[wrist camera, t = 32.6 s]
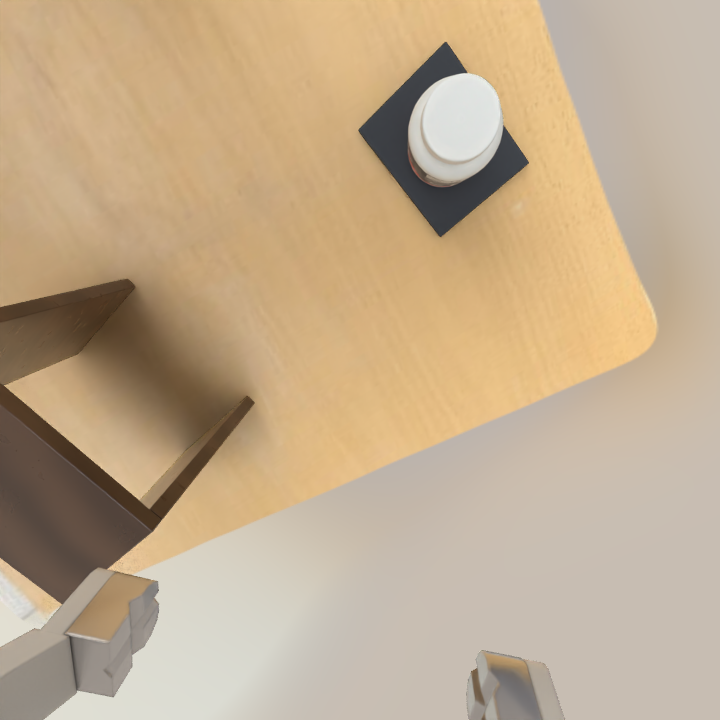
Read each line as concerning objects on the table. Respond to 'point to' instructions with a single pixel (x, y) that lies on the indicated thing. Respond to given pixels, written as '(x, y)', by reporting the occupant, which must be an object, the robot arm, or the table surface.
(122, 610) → the robot arm
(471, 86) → the pill bottle
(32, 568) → the arch
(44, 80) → the table surface
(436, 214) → the pad
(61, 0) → the table surface
